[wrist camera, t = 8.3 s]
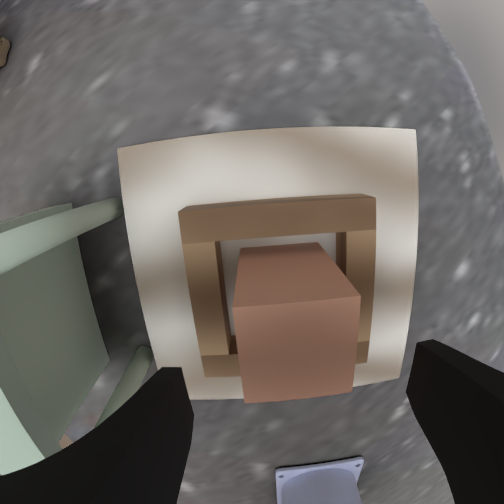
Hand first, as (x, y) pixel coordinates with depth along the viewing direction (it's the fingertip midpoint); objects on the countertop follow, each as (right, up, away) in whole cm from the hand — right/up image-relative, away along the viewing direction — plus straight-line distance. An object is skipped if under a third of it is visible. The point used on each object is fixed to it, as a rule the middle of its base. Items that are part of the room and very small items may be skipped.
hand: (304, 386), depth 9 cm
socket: (0, +3, +9) cm, 9 cm away
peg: (0, +2, +8) cm, 8 cm away
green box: (-12, +2, +9) cm, 15 cm away
